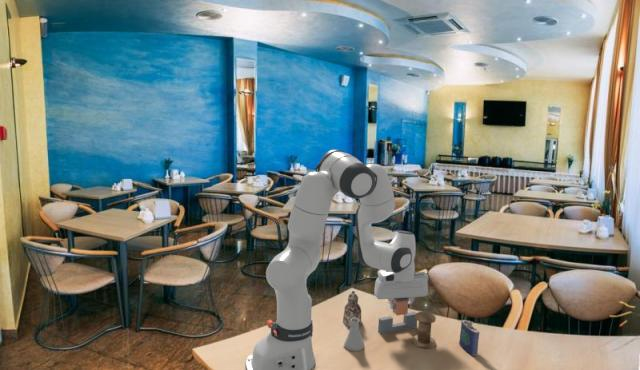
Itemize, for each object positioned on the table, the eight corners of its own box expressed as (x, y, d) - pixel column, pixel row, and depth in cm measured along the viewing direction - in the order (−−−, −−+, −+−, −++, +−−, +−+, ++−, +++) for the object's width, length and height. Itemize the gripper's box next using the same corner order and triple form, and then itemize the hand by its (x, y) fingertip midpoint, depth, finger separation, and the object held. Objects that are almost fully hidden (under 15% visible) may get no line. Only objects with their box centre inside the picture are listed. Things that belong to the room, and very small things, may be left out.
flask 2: (478, 356, 142) (481, 327, 140) (471, 357, 141) (473, 328, 139) (463, 342, 150) (466, 314, 149) (456, 343, 150) (458, 315, 148)
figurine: (341, 325, 161) (342, 295, 159) (344, 316, 167) (345, 288, 165) (359, 327, 159) (361, 298, 157) (362, 319, 166) (363, 290, 164)
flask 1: (340, 348, 144) (341, 321, 143) (348, 338, 151) (349, 313, 149) (359, 354, 141) (360, 326, 140) (367, 344, 148) (368, 317, 146)
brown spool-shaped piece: (420, 350, 144) (422, 323, 143) (408, 338, 152) (409, 313, 150) (439, 346, 147) (441, 319, 146) (426, 335, 155) (428, 309, 153)
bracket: (380, 334, 154) (381, 320, 154) (378, 331, 156) (378, 318, 155) (416, 327, 160) (417, 313, 159) (414, 325, 162) (415, 311, 161)
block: (397, 315, 154) (397, 300, 154) (392, 311, 157) (393, 296, 156) (407, 313, 156) (408, 298, 155) (403, 310, 159) (403, 295, 158)
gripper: (424, 268, 159) (422, 302, 161) (373, 271, 155) (372, 305, 158) (432, 274, 153) (429, 309, 155) (378, 277, 149) (377, 313, 152)
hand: (400, 307), depth 156 cm, fingers closed on block, 5 cm apart
